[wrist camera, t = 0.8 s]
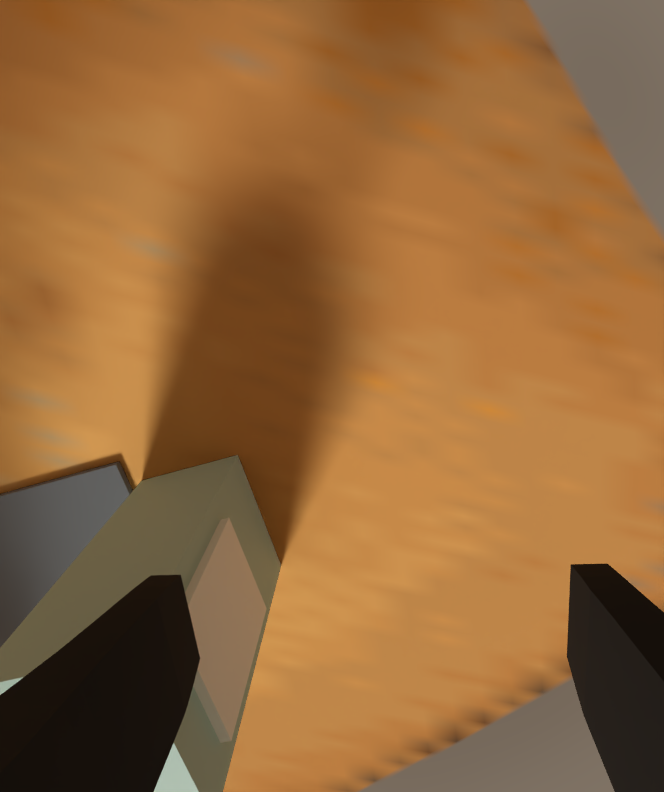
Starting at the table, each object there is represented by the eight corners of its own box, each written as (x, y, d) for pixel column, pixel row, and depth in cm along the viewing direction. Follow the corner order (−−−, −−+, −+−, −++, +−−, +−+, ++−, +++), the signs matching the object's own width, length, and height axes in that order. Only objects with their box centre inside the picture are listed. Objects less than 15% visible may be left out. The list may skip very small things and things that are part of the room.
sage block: (189, 586, 23) (63, 846, 14) (141, 480, 22) (-35, 689, 12) (288, 563, 23) (226, 821, 13) (245, 452, 21) (141, 651, 12)
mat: (-18, 654, 25) (-23, 660, 25) (-99, 521, 23) (-105, 525, 23) (187, 609, 24) (185, 613, 23) (119, 461, 22) (115, 464, 21)
